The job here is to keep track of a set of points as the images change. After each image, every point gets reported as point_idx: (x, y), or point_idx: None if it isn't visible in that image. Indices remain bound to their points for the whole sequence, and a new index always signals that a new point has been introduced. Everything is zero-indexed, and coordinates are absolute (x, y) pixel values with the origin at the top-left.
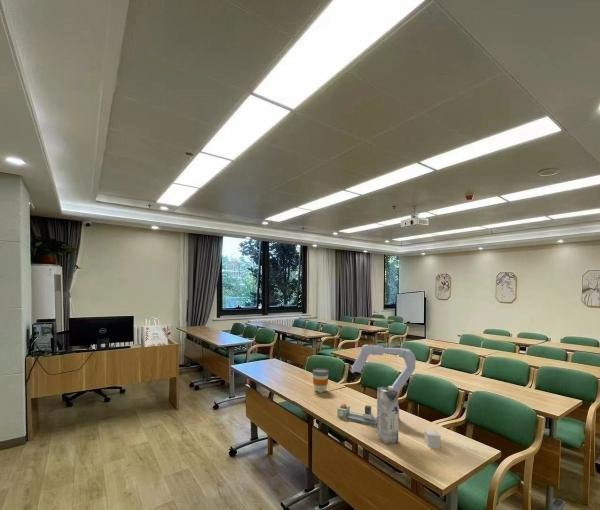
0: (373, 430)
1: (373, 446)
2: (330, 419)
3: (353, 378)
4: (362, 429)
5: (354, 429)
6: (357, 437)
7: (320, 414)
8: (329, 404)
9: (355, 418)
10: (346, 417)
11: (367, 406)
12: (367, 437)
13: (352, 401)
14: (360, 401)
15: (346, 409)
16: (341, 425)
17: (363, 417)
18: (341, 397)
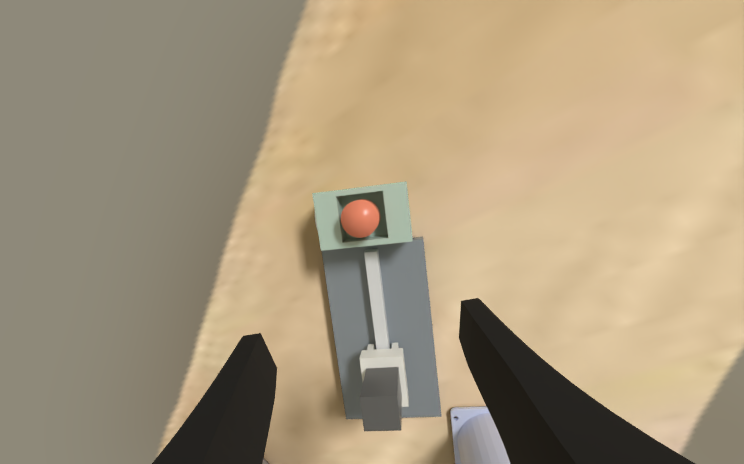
0: (301, 413)
1: None
2: (271, 178)
3: (487, 380)
4: None
5: None
6: (189, 378)
7: (293, 87)
8: (492, 25)
9: (340, 306)
10: (323, 256)
11: (374, 411)
12: None
13: (669, 132)
14: (708, 182)
15: (345, 247)
16: (245, 265)
17: (368, 346)
18: (717, 6)
